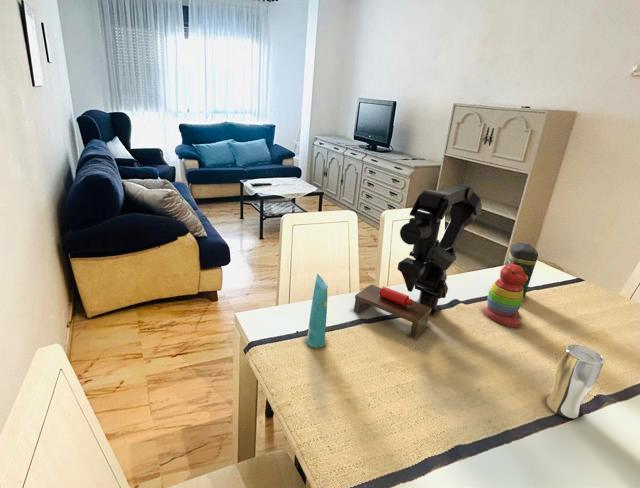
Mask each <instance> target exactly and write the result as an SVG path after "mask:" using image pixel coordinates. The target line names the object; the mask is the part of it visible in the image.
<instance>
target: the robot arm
mask: <svg viewBox="0 0 640 488" xmlns="http://www.w3.org/2000/svg"><path fill="white" fill-rule="evenodd" d="M482 208H483V204H482V200H481V198H480V197H479V195H477V194H476V193H475V192H474V188H473V187H471V186H470V185H466V184H461V183H455V184H454V185H453V186H449V187H447V188H444V189H441V190H433V189H425V190H422V192H421V193H419V194H418V196H417V198H416V200H415V202H414V204H413V206H412V208H411V210H410V212H409V216H411V217H410V218H409V221H408V222H407V223H405V224H403V225H402V226H401V228H400V229H399V236H400V239H401V240H402V242H403V243H405V244H406V245H408V246H409V245H410V246H413V247H412V250H411V251H410V252H409V254H408V255H409V257H406V258H404V259H402V260H400V261H399V262H398V264H397V268H396V269H397V271H399V272H400V273H401V275H402V278H403V281H404V283H405V286H406V289H407V292H411V293H412V292H413V290H418V291H419V297H418V301H417V302H418V303H421V304H423V305H426V306H429V307H431V308H432V309H431V312H430V316H432V317H433V316H435V314H436V313H437V312H438V311H439V310H440V309H441V307H440V306H438V303H439V300H440V299H445V298H446V297H447V294H448V290H449V287H448V283H447V282H446V281H447V279H448V276H447V271H448V269H449V268H451V266H452V265H453V264H454V262H455V261H456V260H457V255H456V252H457V249H456V247H457V245H458V243H459V241H460V238H461V237H462V235H463V233H464V230H465V228H466V227H468V226H470V225H471V224H473V223H474V222H475V220H476V219H477V217H478V216H480V214H481V212H482ZM448 212H449V216H450V217H449V218H450V220H449V223H448V225H447V226H446V229H445V231H444V233H443V235H442V237H441V238H440V240H439V239H438V236H439V232H440V228H441V222H442V220H443V219H444V218H445V216H446V215H447V213H448ZM410 257H413V258H410Z"/></svg>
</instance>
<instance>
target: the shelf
mask: <svg viewBox="0 0 640 488" xmlns="http://www.w3.org/2000/svg"><path fill="white" fill-rule="evenodd" d="M381 288H382V287H379V286H377V285H374V284H372V283H371V284H369V285H368V286H366V287H365V288H363V289H362V290H360V291H359V292H357V293H356V294H355V295H354V300H355V301H354V306H353V312H354V313H357V314H359V313H360V312H362V311H363V310H364V309H366V308H367V307H368V306H372V307H375V308H377V309H379V310H382V311H384V312H387V313H388V314H391V315H393V316H396V317H398V318H401V319H403V320H406V321H408V322H410V323H411V328H410V333H409V337H411V338H412V339H416V338H418V336H419V335H420V334H421V333H422V332H423V331H424V330H425V329H426V328H427V327H428V325H429V321H430V316H431V315H430V312H431V309H432V308H431V307H429V306H426V305H423V304H421V303H418V301H415V300H413V302H412V305H411V306H409V305H406V306H403V305H401V304H398V303H396V302H393V301H391V300H388V299H386V298H383V297H381V296H380V295H379V293H380V290H381Z"/></svg>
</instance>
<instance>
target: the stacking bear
mask: <svg viewBox="0 0 640 488" xmlns="http://www.w3.org/2000/svg"><path fill="white" fill-rule="evenodd" d="M527 280H528V276H527V275H526V274H525V273H524V270H523V269H522V268H521V267H520V266H518V265H515V264H514V262H511V263H510V264H509V265H506V264H505V265H503V266H502V267H501V269H500V272H499V278H497V279H496V280H495V281H494V282H493V284H492V285H491V287H490V288H489V290H488V293H487V299H486V300H487V302H486V303H487V305H486V306H485V308H484V311H483V312H484V314H485V316H487V318H489V319H491V320H493V321H495V322H497V323H499V324H501V325H504V326H507V327H511V328H519V327H521V321H520V319H519V317H520V312H519V311H520V309H521V307H522V305H523V301H524V299H523V286H522V285H521V284H523V283H525V282H526V281H527Z"/></svg>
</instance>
